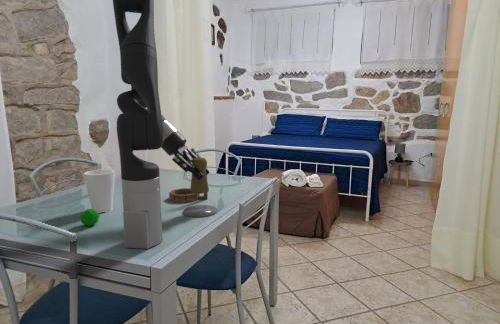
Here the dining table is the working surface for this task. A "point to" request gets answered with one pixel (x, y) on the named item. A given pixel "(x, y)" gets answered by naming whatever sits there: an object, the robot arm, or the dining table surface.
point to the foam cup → (100, 189)
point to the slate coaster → (200, 211)
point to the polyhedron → (89, 217)
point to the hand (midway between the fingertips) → (204, 176)
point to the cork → (201, 184)
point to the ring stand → (185, 195)
